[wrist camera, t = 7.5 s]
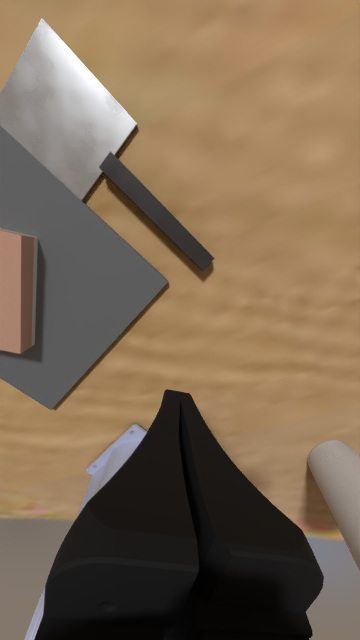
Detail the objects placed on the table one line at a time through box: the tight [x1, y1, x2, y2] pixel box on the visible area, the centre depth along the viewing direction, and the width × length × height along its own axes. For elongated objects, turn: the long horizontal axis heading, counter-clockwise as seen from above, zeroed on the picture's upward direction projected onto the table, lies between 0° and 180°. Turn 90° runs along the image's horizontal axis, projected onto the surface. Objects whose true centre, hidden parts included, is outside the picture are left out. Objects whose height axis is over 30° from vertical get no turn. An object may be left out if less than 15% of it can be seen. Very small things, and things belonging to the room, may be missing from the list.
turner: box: [0, 19, 214, 271], centre depth 16 cm, size 19×7×1 cm, turn 47°
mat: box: [0, 126, 168, 410], centre depth 19 cm, size 19×18×1 cm
